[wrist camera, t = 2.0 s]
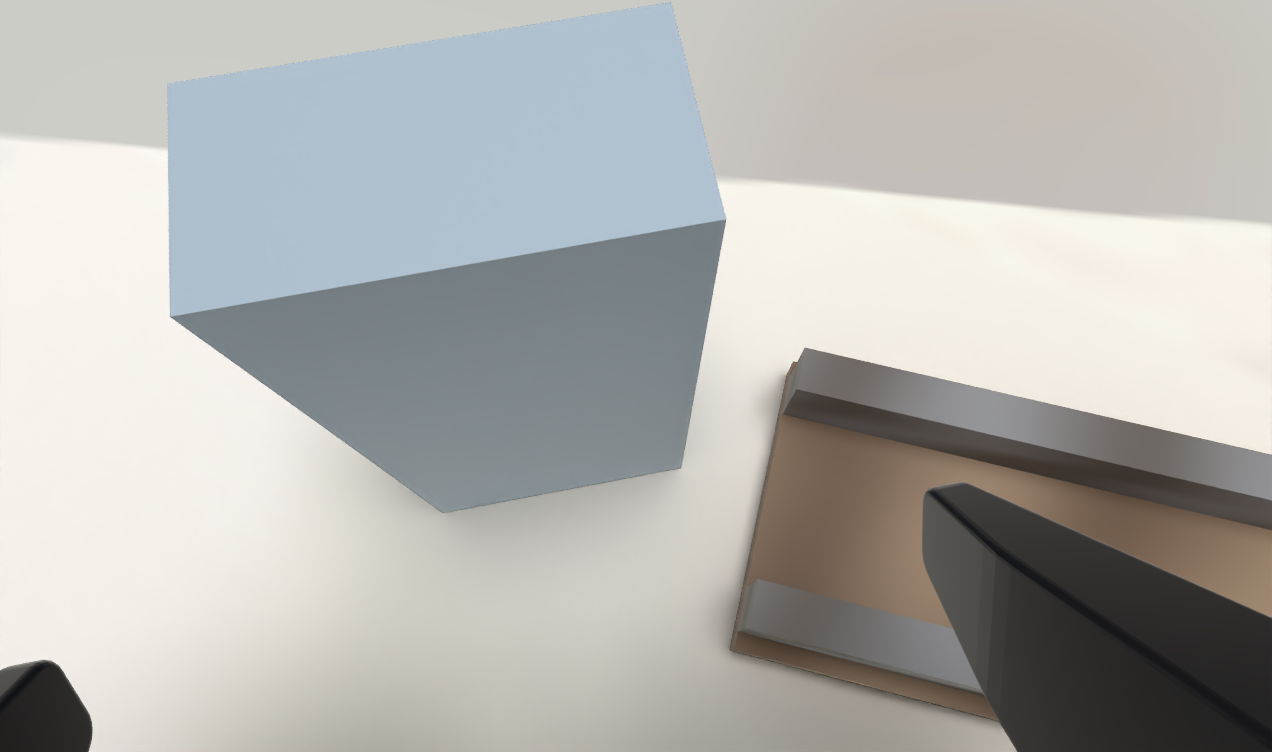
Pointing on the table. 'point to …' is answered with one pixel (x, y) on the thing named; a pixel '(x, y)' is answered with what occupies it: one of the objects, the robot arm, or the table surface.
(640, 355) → the door panel
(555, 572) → the table surface
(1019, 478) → the floor track
